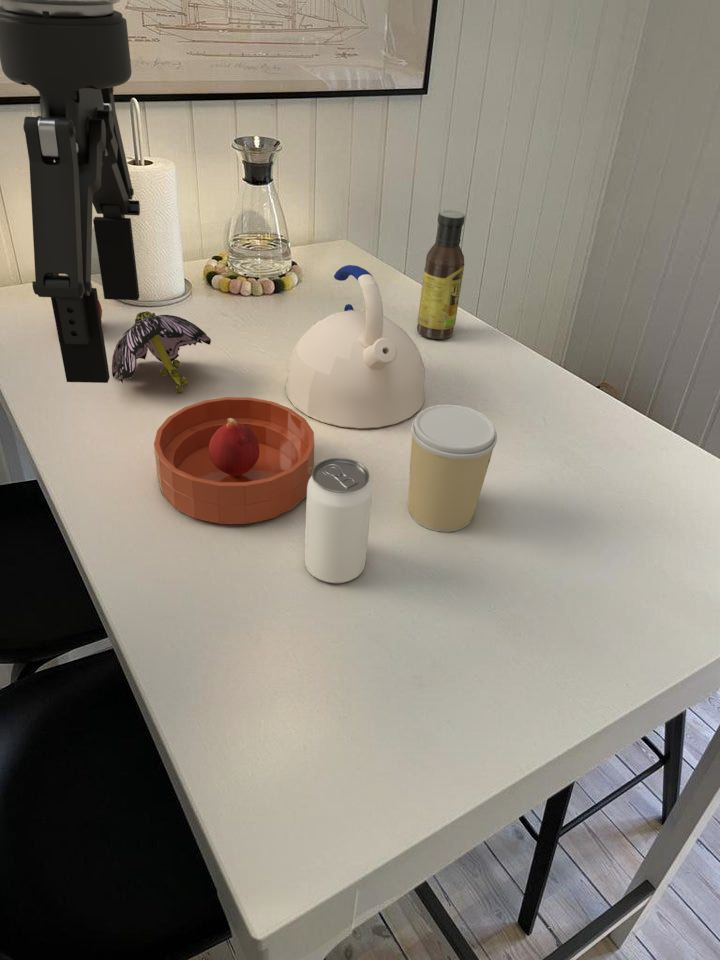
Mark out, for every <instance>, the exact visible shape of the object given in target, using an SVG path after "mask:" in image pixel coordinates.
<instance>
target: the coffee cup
mask: <svg viewBox="0 0 720 960" xmlns="http://www.w3.org/2000/svg"><path fill="white" fill-rule="evenodd" d="M410 432H411V433H410V434H411V443H410V459H409V460H410V461H409V478H408V479H409V480H408V500H407V501H408V502H407V505H408V507H407V508H408V512H409V514H410V516H411V518H412V519H413V520H414V521H415V522H416V523H417V524H418V525H420V526H421V527H424V528H426V529H428V530H431V531H434V532H435V531H436V532H442V533H446V532H447V533H449V532H451V533H452V532H456V531H459V530H462V529H464V528H466V527H467V526H468V525H470V523H471V522H472V520H473V517H474V516H475V512H476V509H477V505H478V502H479V498H480V495H481V492H482V488H483V486H484V482H485V478H486V475H487V472H488V469H489V465H490V463H491V459H492V455H493V452H494V449H495V447H496V444H497V440H498V433H497V430H496V427H495V425H494V423H493V421H492V420H491V419H490V418H489V417H487V416H486V415H485V414H484V413H482V412H480V411H479V410H476V409H473V408H470V407H467V406H464V405H457V404H437V405H432V406H429V407H426V408H424V409H422V410H421V411H420V412H419V413H417V415H416V417H415V418H414V419H413V420H412V423H411V428H410Z"/></svg>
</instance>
